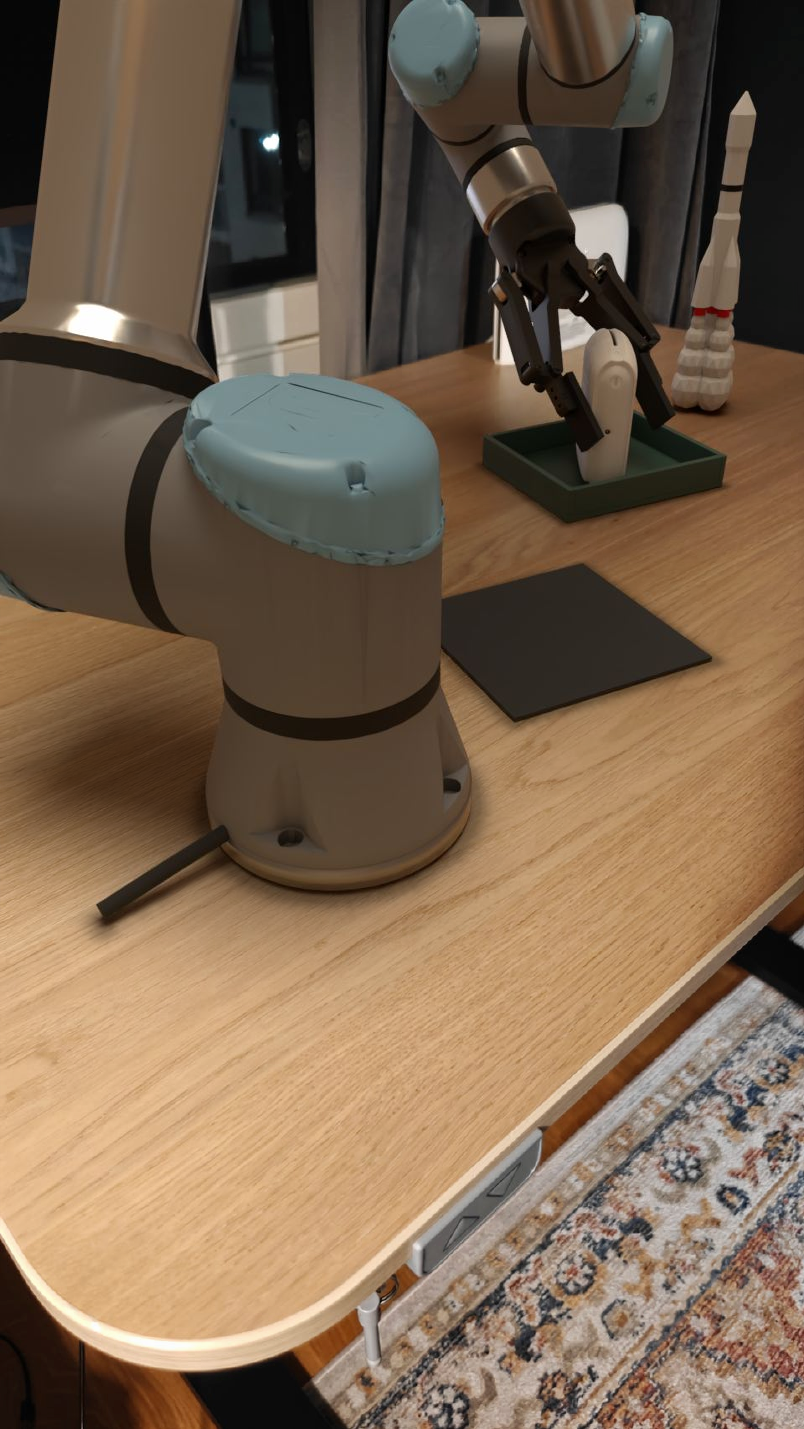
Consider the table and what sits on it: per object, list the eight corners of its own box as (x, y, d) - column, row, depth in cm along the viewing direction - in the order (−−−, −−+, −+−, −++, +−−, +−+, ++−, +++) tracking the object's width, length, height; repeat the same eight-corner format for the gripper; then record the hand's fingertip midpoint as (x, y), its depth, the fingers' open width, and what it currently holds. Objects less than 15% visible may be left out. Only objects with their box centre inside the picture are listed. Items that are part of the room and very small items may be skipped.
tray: (567, 523, 89) (569, 491, 88) (481, 464, 101) (482, 435, 99) (722, 486, 95) (727, 455, 94) (625, 434, 106) (628, 406, 105)
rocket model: (652, 401, 115) (691, 90, 97) (706, 391, 117) (754, 86, 100) (691, 421, 109) (740, 96, 92) (747, 411, 112) (805, 91, 94)
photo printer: (628, 488, 93) (645, 349, 86) (580, 487, 93) (594, 349, 86) (615, 447, 101) (630, 318, 94) (572, 446, 102) (583, 318, 94)
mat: (514, 721, 65) (514, 718, 65) (405, 611, 77) (405, 608, 77) (711, 660, 71) (712, 656, 71) (582, 566, 83) (582, 562, 83)
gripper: (583, 229, 102) (682, 428, 101) (413, 258, 92) (520, 479, 91) (628, 176, 96) (734, 388, 94) (449, 200, 86) (565, 439, 84)
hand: (629, 433), depth 93 cm, fingers closed on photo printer, 8 cm apart
